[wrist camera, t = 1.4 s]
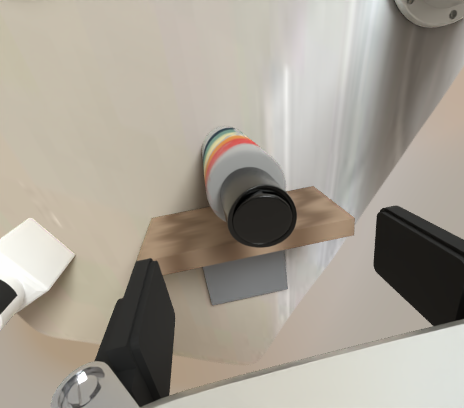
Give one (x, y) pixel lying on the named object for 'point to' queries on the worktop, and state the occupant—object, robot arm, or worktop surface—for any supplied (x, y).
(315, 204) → the brown wooden board
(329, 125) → the worktop surface
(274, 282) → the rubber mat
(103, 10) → the worktop surface
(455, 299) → the robot arm
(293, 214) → the lotion bottle
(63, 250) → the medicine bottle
